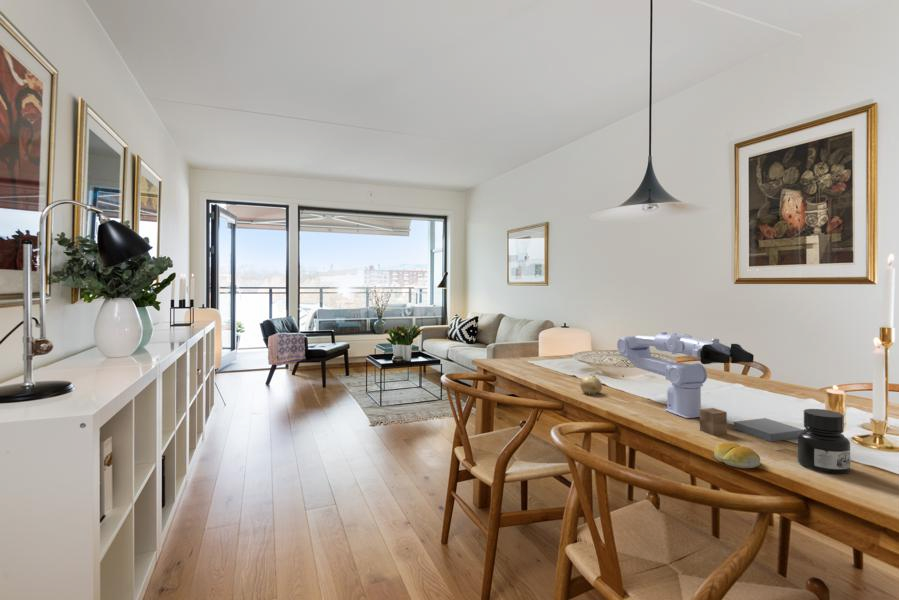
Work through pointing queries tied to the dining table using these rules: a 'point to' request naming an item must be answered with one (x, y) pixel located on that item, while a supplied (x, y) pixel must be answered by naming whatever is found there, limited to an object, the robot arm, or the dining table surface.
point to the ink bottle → (824, 442)
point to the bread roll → (736, 455)
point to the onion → (591, 385)
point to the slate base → (767, 429)
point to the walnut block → (713, 421)
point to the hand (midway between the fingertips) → (740, 358)
